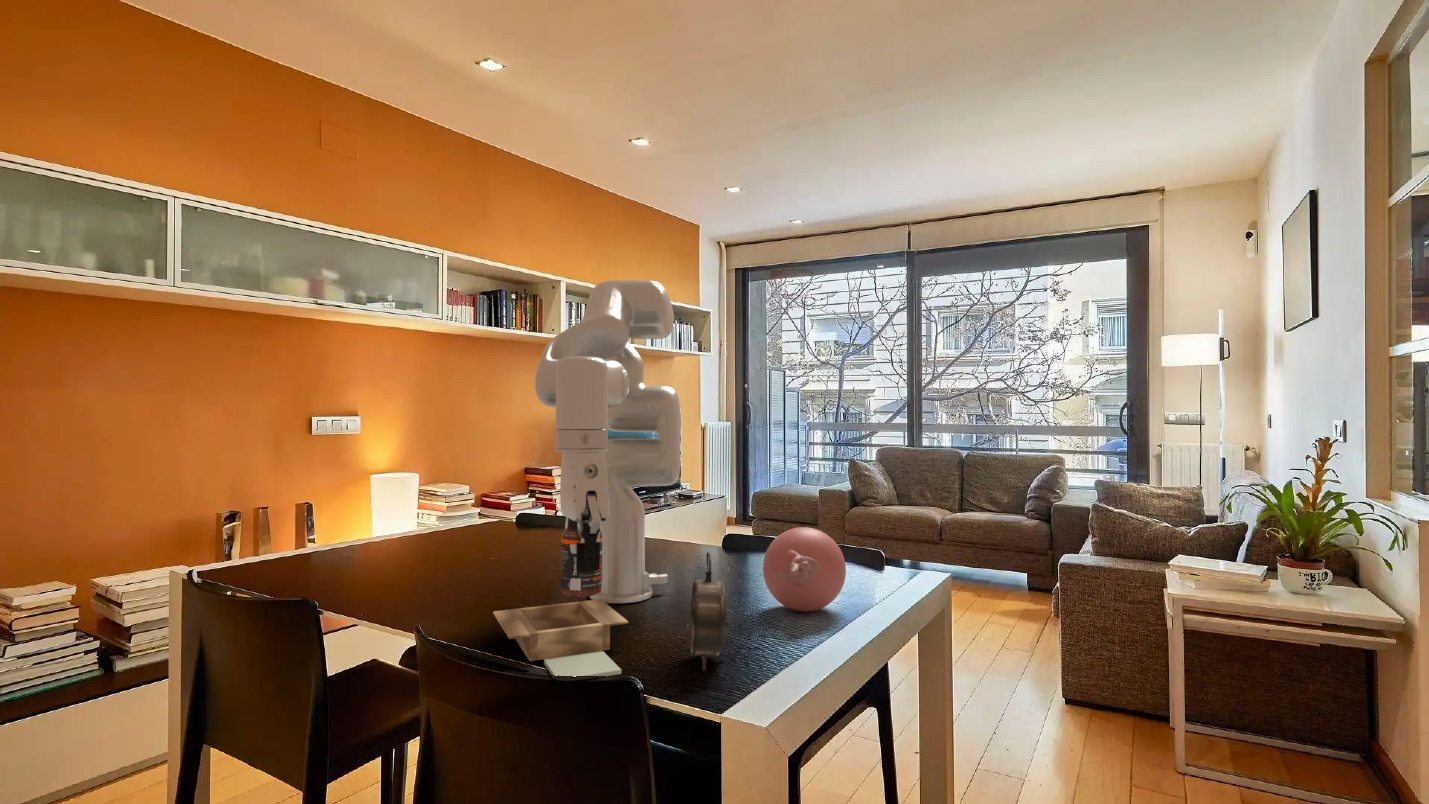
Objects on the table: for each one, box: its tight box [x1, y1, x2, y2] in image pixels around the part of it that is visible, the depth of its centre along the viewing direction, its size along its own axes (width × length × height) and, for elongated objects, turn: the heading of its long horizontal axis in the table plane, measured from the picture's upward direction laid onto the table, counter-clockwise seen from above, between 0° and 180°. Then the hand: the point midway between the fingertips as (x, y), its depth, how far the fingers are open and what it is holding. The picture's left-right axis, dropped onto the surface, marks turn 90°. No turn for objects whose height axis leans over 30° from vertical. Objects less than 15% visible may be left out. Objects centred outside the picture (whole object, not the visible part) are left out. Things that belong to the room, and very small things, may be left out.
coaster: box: [543, 650, 622, 677], centre depth 106 cm, size 9×9×1 cm
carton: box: [492, 599, 629, 662], centre depth 119 cm, size 18×15×4 cm
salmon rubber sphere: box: [762, 526, 847, 613], centre depth 135 cm, size 15×20×15 cm
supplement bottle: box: [559, 517, 603, 598], centre depth 106 cm, size 6×6×11 cm
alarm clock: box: [689, 551, 730, 672], centre depth 109 cm, size 11×5×16 cm, turn 5°
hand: (581, 565), depth 106 cm, fingers closed on supplement bottle, 6 cm apart
